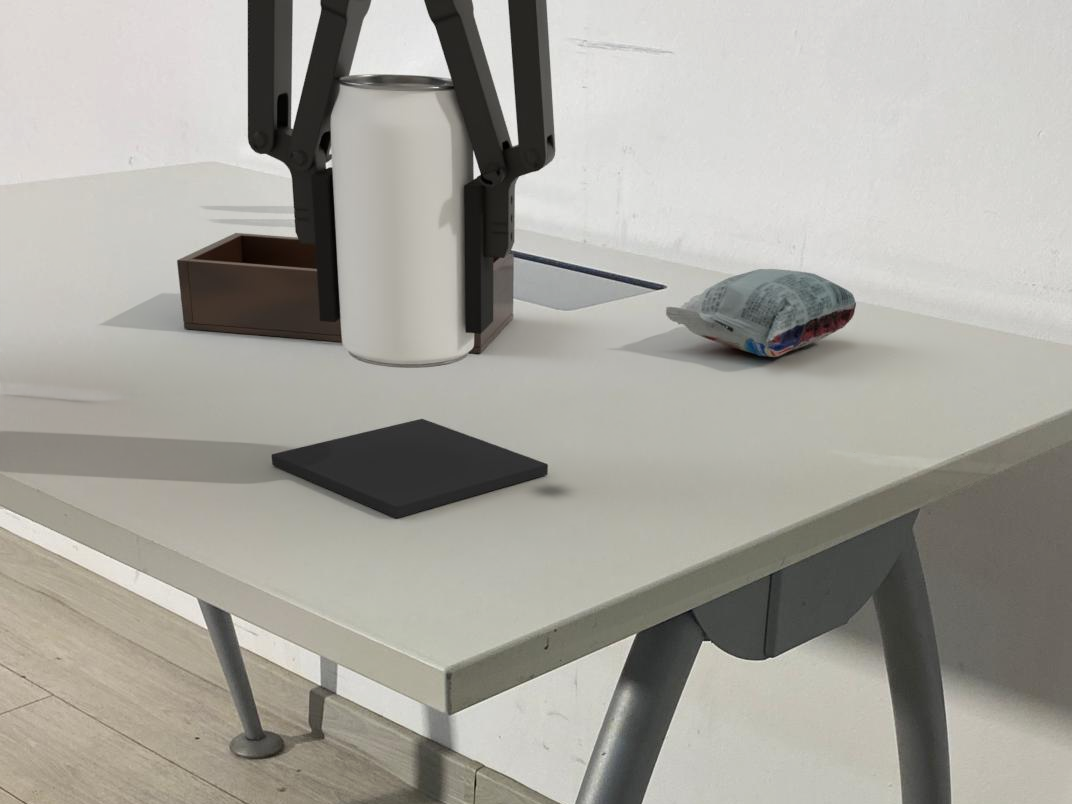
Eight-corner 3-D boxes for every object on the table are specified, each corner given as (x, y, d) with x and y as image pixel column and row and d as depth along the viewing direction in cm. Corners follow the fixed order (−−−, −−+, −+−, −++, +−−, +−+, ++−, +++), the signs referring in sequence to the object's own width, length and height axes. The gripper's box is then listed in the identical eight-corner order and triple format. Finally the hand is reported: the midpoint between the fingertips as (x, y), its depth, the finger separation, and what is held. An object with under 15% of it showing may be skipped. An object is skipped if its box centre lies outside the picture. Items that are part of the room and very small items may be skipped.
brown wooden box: (183, 328, 96) (176, 260, 94) (240, 296, 105) (235, 232, 102) (480, 353, 94) (480, 284, 91) (513, 318, 102) (514, 253, 100)
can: (497, 347, 72) (498, 81, 65) (433, 376, 67) (427, 91, 60) (386, 330, 74) (377, 70, 68) (316, 357, 69) (298, 79, 62)
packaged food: (663, 349, 96) (668, 273, 94) (752, 320, 105) (760, 250, 102) (774, 375, 92) (784, 297, 90) (858, 343, 101) (869, 270, 98)
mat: (396, 519, 67) (395, 506, 67) (271, 465, 73) (270, 453, 73) (548, 475, 74) (548, 463, 73) (422, 428, 79) (422, 418, 79)
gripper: (641, -250, 59) (616, 319, 71) (196, -264, 62) (244, 290, 74) (615, -273, 53) (592, 355, 65) (119, -288, 55) (186, 323, 67)
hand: (407, 320), depth 69 cm, fingers closed on can, 6 cm apart
